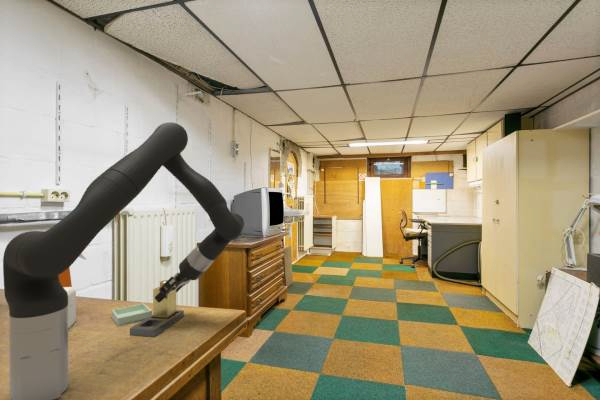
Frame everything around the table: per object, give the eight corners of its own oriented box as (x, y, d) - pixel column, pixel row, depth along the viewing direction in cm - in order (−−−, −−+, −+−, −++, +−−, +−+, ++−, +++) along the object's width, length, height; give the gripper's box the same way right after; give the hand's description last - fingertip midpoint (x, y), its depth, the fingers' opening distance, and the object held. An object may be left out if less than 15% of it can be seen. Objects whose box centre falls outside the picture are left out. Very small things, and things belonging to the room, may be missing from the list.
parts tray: (151, 318, 103) (151, 310, 103) (117, 326, 97) (117, 318, 97) (143, 310, 111) (143, 303, 111) (111, 317, 104) (111, 309, 104)
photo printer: (64, 333, 92) (64, 292, 92) (47, 335, 90) (47, 293, 90) (78, 320, 102) (77, 283, 102) (62, 322, 100) (62, 284, 100)
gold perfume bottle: (176, 318, 103) (176, 279, 103) (167, 324, 98) (167, 283, 98) (162, 317, 104) (162, 279, 104) (153, 323, 99) (153, 283, 99)
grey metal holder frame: (183, 316, 105) (183, 310, 105) (154, 337, 89) (154, 330, 89) (162, 315, 106) (162, 309, 106) (129, 335, 91) (129, 328, 91)
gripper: (200, 250, 107) (170, 281, 109) (177, 257, 93) (143, 294, 95) (214, 265, 106) (184, 297, 108) (194, 276, 92) (159, 312, 94)
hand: (165, 295), depth 101 cm, fingers open, 8 cm apart
